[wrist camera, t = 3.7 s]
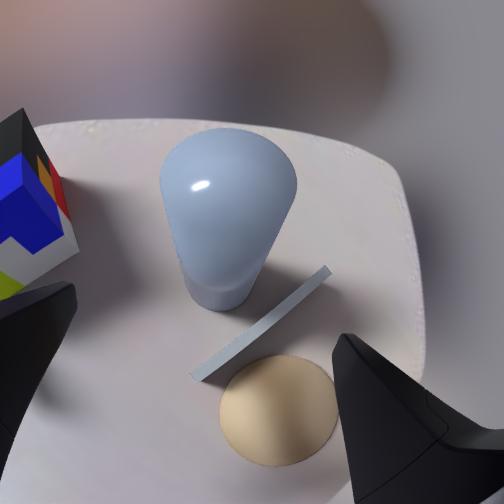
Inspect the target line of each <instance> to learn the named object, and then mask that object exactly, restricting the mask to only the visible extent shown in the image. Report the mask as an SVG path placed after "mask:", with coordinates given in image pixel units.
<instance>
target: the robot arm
mask: <svg viewBox="0 0 504 504" xmlns="http://www.w3.org/2000/svg"><path fill="white" fill-rule="evenodd" d="M76 310H77V298H76V291H75V286H74V284H73V283H70V282H66V281H62V282H58V283H55V284H52V285H48V286H45V287H42V288H39V289H35V290H32V291H29V292H26V293H22V294H19V295H16V296H13V297H10V298H7V299H3V300H0V480H1V477H2V474H3V470H4V467H5V464H6V461H7V458H8V455H9V453H10V450H11V447H12V444H13V442H14V438H15V436H16V434H17V431H18V429H19V426H20V424H21V422H22V419H23V417H24V415H25V413H26V410H27V408H28V406H29V404H30V402H31V400H32V397H33V395H34V393H35V391H36V389H37V387H38V385H39V383H40V381H41V379H42V377H43V376H44V374H45V372H46V370H47V368H48V366H49V364H50V362H51V361H52V359H53V357H54V355H55V353H56V352H57V350H58V348H59V346H60V344H61V342H62V340H63V338H64V336H65V334H66V332H67V329H68V327H69V325H70V323H71V321H72V319H73V317H74V315H75V313H76ZM332 364H333V374H334V385H335V394H336V400H337V405H338V410H339V415H340V420H341V425H342V431H343V436H344V441H345V447H346V452H347V458H348V464H349V470H350V476H351V483H352V489H353V496H354V503H355V504H504V429H497V430H494V429H487V428H484V427H482V426H480V425H478V424H477V423H475V422H473V421H472V420H470V419H469V418H467V417H465V416H464V415H462V414H461V413H459V412H457V411H456V410H455V409H453V408H452V407H450V406H449V405H447V404H445V403H444V402H443V401H441V400H440V399H439V398H437V397H436V396H434V395H433V394H432V393H430V392H429V391H428V390H425V388H424V387H422V386H421V385H420V384H419V383H417V382H416V381H415V380H413V379H412V378H411V377H409V376H408V375H407V374H406V373H404V372H403V371H402V370H400V369H399V368H398V367H396V366H395V365H394V364H392V363H391V362H390V361H389V360H387V359H386V358H385V357H383V356H382V355H381V354H379V353H378V352H377V351H375V350H374V349H373V348H372V347H370V346H369V345H368V344H366V343H365V342H364V341H362V340H361V339H360V338H358V337H357V336H356V335H355V334H351V333H343V334H341V335H340V337H339V339H338V341H337V344H336V346H335V348H334V350H333V353H332Z"/></svg>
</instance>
